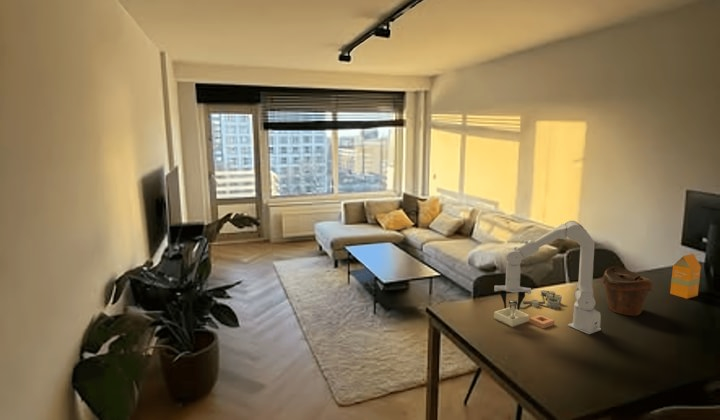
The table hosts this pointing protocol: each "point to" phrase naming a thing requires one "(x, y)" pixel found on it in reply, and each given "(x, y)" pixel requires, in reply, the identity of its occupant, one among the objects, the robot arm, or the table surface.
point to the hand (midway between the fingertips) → (511, 308)
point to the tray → (504, 317)
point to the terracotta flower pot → (626, 290)
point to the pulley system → (550, 302)
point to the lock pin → (512, 308)
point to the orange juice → (686, 277)
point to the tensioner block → (541, 321)
